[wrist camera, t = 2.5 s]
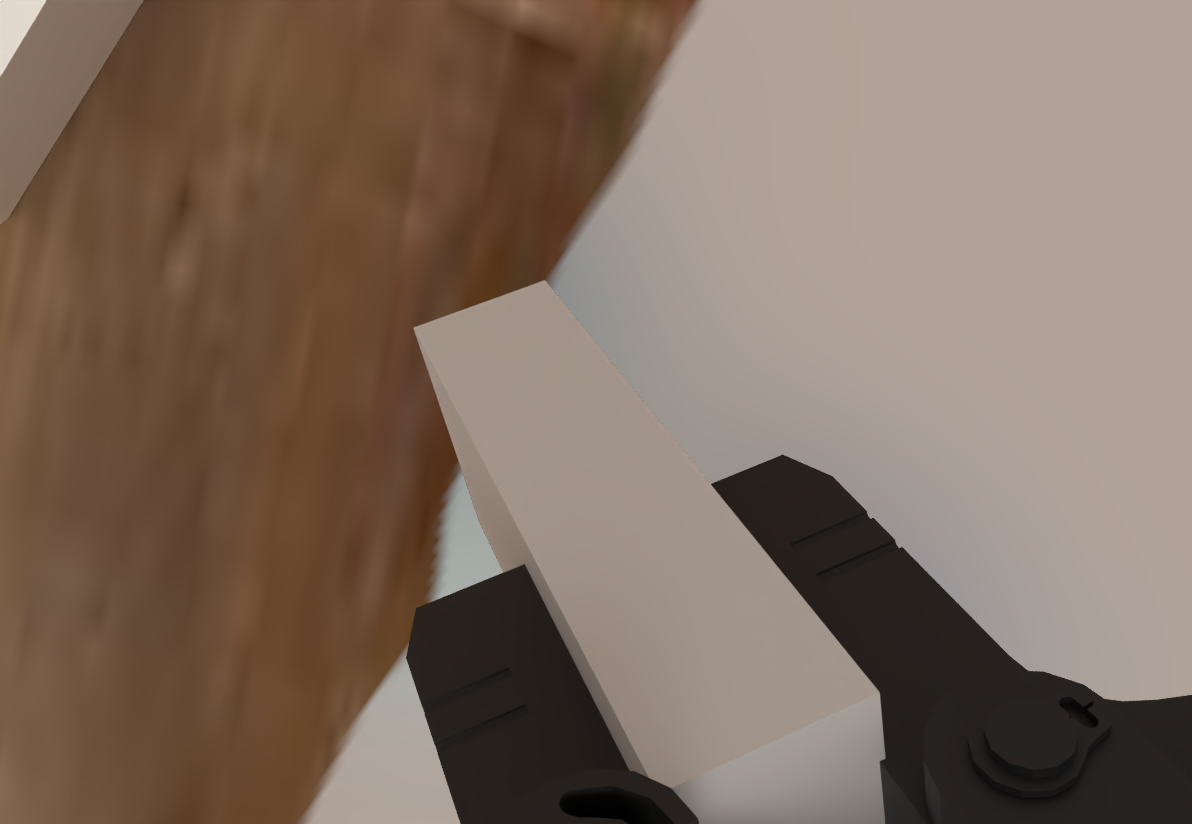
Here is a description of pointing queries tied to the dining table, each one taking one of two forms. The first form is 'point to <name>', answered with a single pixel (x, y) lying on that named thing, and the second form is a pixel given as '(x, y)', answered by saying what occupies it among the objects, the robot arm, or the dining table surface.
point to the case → (48, 76)
